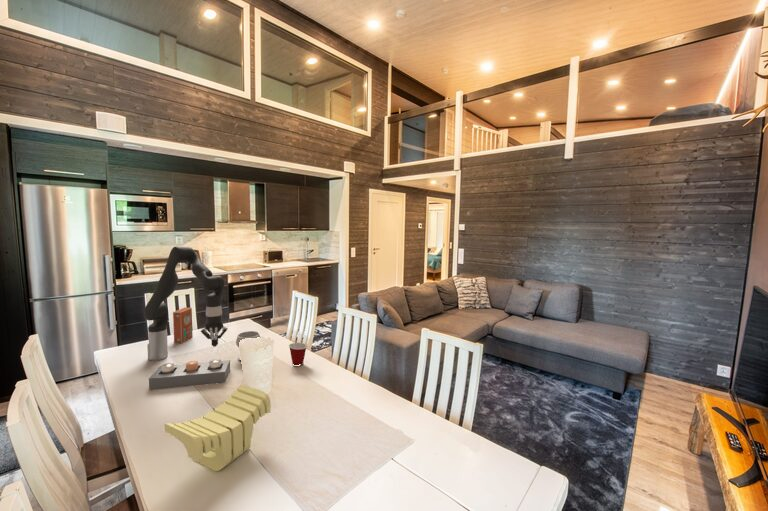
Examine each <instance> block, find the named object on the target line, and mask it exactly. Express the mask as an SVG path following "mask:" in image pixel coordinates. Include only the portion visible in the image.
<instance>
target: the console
mask: <svg viewBox="0 0 768 511" xmlns="http://www.w3.org/2000/svg"><path fill="white" fill-rule="evenodd" d="M209 362H210V361H204V362H203V361H202V362H198V371H191V372H186V363H180V364H176V363H175V364H174V367H175V372H174V373H168V374H162V370H161V366H162V365H159V367H157V369H155V371H154V372H153V373H152V374H151V376H149V377H148V390H149V391H157V390H166V389H176V388H177V389H178V388H185V387H196V386H197V387H198V386H207V384H208V385H217V384H216V383H218V384H225V383H226V382H227V380H226V379H228V377H229V375H230V372H231V360H230V359H229V360H228V359H227V360H225V359H224V360H221V369H214V370H209ZM228 374H229V375H228Z"/></svg>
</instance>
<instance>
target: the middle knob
mask: <svg viewBox="0 0 768 511" xmlns="http://www.w3.org/2000/svg"><path fill="white" fill-rule="evenodd" d="M198 363H199V361H198V360H197V361H196V360H191V361H188V362H186V363H185V364H186V372H191V371H198Z"/></svg>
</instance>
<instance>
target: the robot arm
mask: <svg viewBox="0 0 768 511" xmlns="http://www.w3.org/2000/svg"><path fill="white" fill-rule="evenodd" d="M178 264H190V265H192V266H191V272H192V274H193V275H194V276H195V278H197V279H198V280H199V283H200V285H201V288H202V289H203V290H204V291H207V292H209V291H212V293H210V294H207V295H206V297H205V305H206V306H205V326H204V328H202V329H201V330H200V332H201V334H202V335H203V336H205V338H206V339H208V340H211V346H212V347H217V346H218V345H219V339H221V338H222V337H223V335H225V333H226V332H227V331H228V327H225V326H224V324H223V308H222V295H223V291H224V288H225V279H224V278H223V277H222V276H221V275H214V276H213V272H212V271H211V269H209V267H207V266H206V265H205V264H204V262H202V259H201V258H200V257H199V256H198V254H197V253H196V251H195V250H194V249H193V248H192V247H190V246H182V245H181V246H180V245H179V246H177V245H175V246H173V247H172V248H171V250H170V252H169V255H168V258H167V261H166V264H165V266H164V269H163V272H162V274H161V276H160V278H159V281H158V282H157V285H156V287H155V290H154V291H153V293H152V295H151V297H150V299H149V300H148V302H147V303H146V305H145V307H144V309H143V317H144V319H145V320H146V321H153V322H152V323H151V324H149V325H148V327H147V334H148V336H147V337H148V343H147V360H148V361H161V360H165V359H166V358H168V356H169V350H168V347H169V345H168V323H169V309H168V305H167V304H166V303H165V302H164V301H166V299H168V298H169V297H170V296H172V295H173V294H174V292H175V291H176V289H177V286H178V285H179V276H178V274H177V271H176V268H177V265H178ZM220 332H221V333H220ZM219 333H220V334H219Z"/></svg>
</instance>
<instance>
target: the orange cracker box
mask: <svg viewBox="0 0 768 511" xmlns="http://www.w3.org/2000/svg"><path fill="white" fill-rule="evenodd" d="M172 320H173V321H172V322H173V343H174V344H183V343H185V342H186V341H188V340H189V339H191V338H193V335H194V334H193V309H192V307H182V308H180V309H177V310H175V311H173V312H172Z"/></svg>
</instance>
